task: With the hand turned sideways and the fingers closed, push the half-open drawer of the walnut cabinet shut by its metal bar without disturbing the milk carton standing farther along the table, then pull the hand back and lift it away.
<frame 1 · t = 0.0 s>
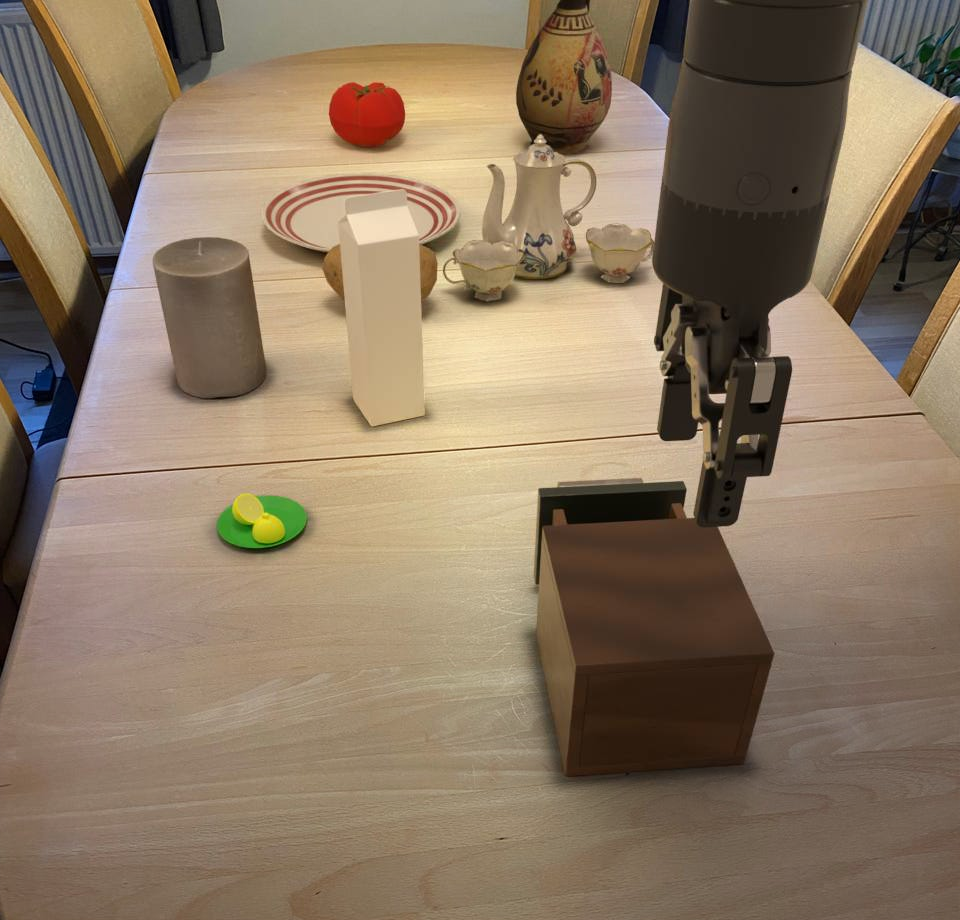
hand: (693, 477, 57), 23 cm above the table, tool pointing down, fingers open, 8 cm apart
potato: (382, 309, 126), on the table
cabinet: (633, 695, 77), on the table
tomato: (371, 143, 173), on the table
drawer: (617, 565, 80), point 5 cm above the table, slide at 5.0 cm
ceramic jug: (563, 146, 172), on the table
chinaware: (542, 276, 133), on the table
pillar candle: (222, 379, 113), on the table
dinner plate: (363, 232, 144), on the table
lemon: (263, 528, 93), on the table
milk: (388, 409, 108), on the table
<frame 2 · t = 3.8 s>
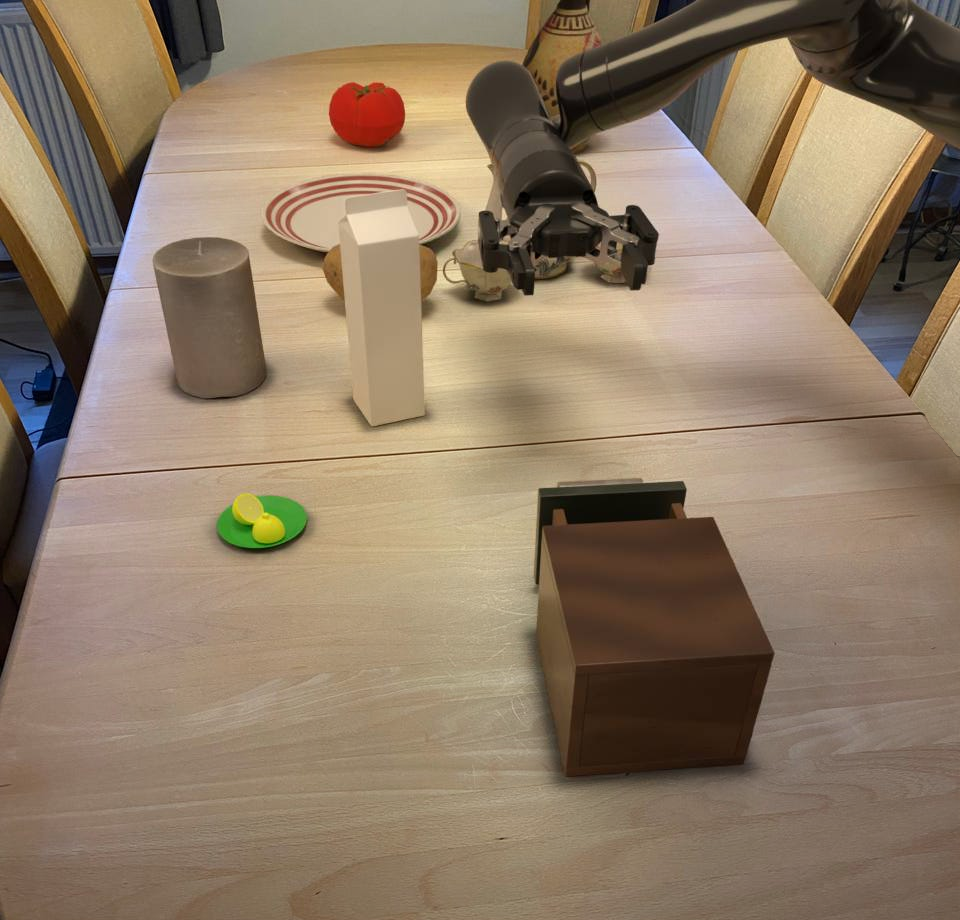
hand: (584, 282, 79), 22 cm above the table, tool horizontal, fingers open, 8 cm apart
nothing on the table moved.
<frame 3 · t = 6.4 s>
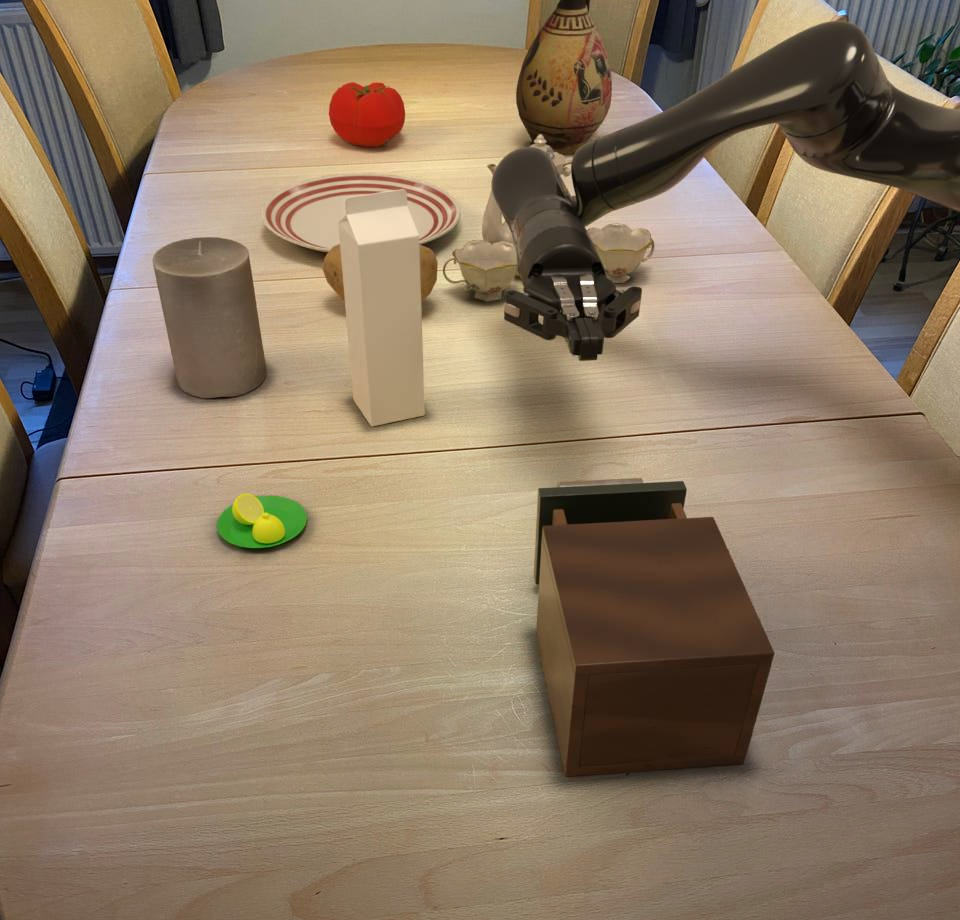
hand: (589, 350, 85), 15 cm above the table, tool horizontal, fingers closed
nothing on the table moved.
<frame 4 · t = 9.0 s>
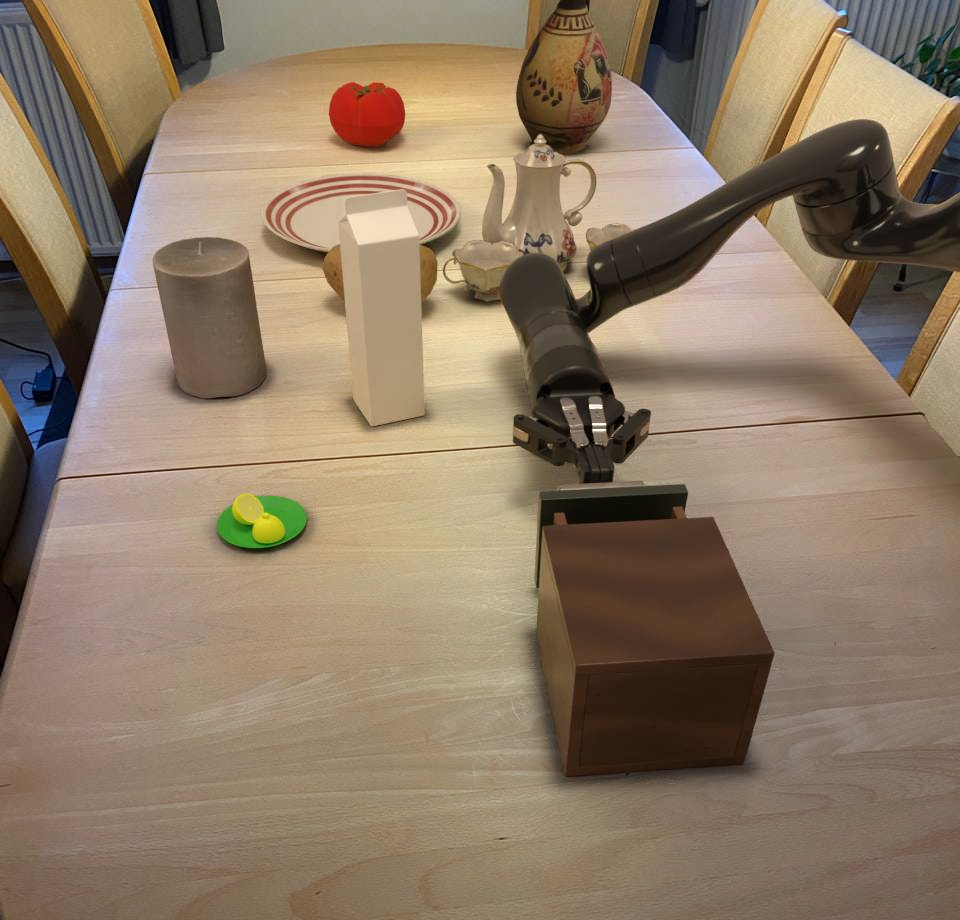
hand: (599, 481, 85), 7 cm above the table, tool horizontal, fingers closed
drawer: (618, 568, 80), point 5 cm above the table, slide at 4.6 cm, touching gripper
everything else where it was.
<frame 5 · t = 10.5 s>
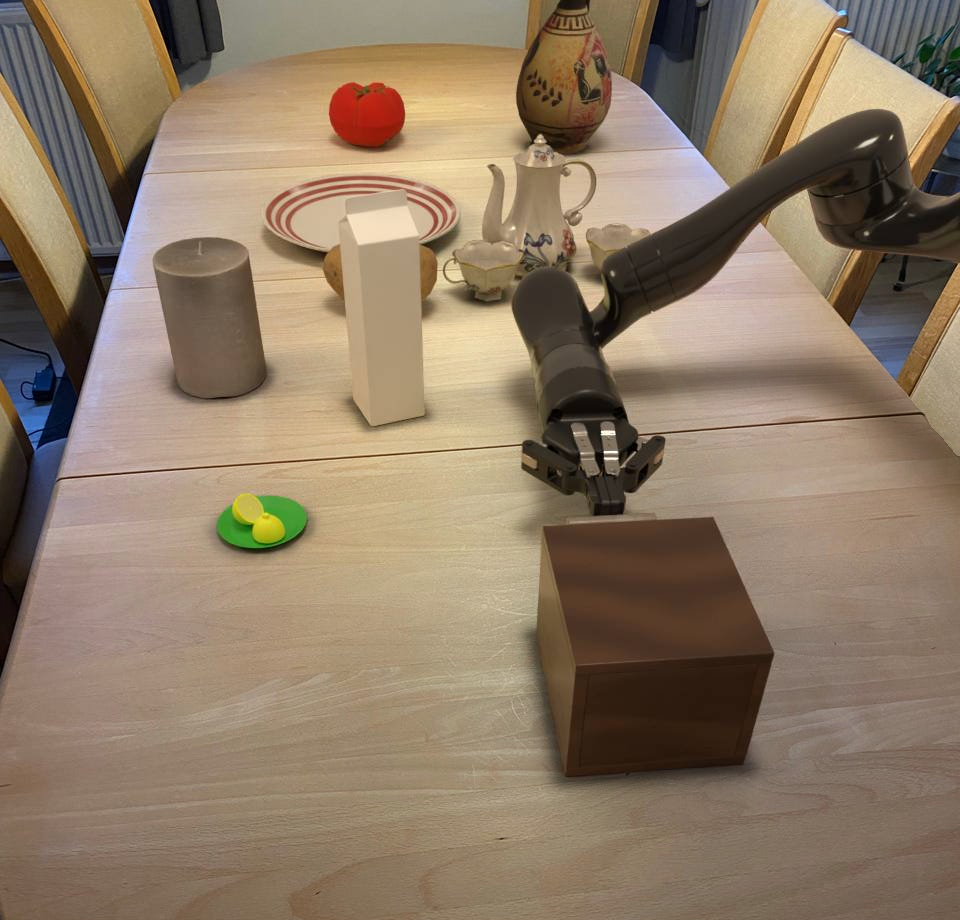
hand: (610, 514, 82), 7 cm above the table, tool horizontal, fingers closed
drawer: (630, 607, 77), point 5 cm above the table, slide at 0.0 cm, touching cabinet, gripper
everything else where it was.
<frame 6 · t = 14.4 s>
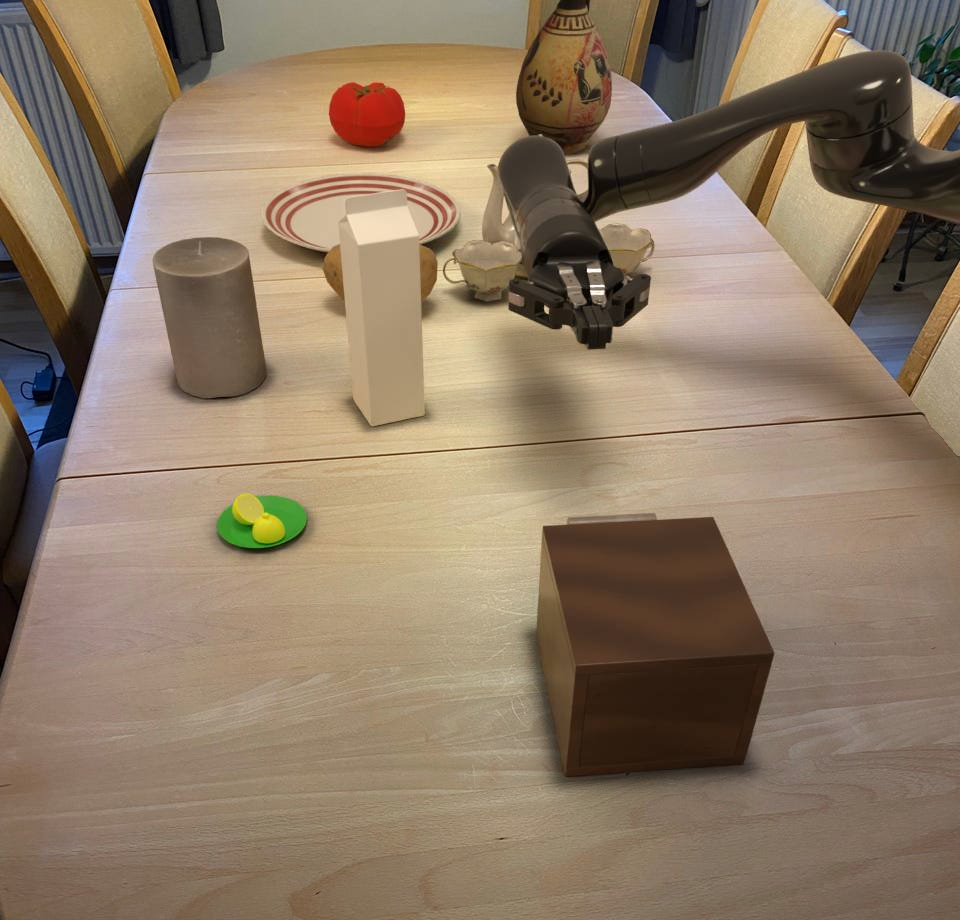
hand: (598, 338, 82), 18 cm above the table, tool horizontal, fingers closed
drawer: (630, 607, 77), point 5 cm above the table, slide at 0.0 cm, touching cabinet
everything else where it was.
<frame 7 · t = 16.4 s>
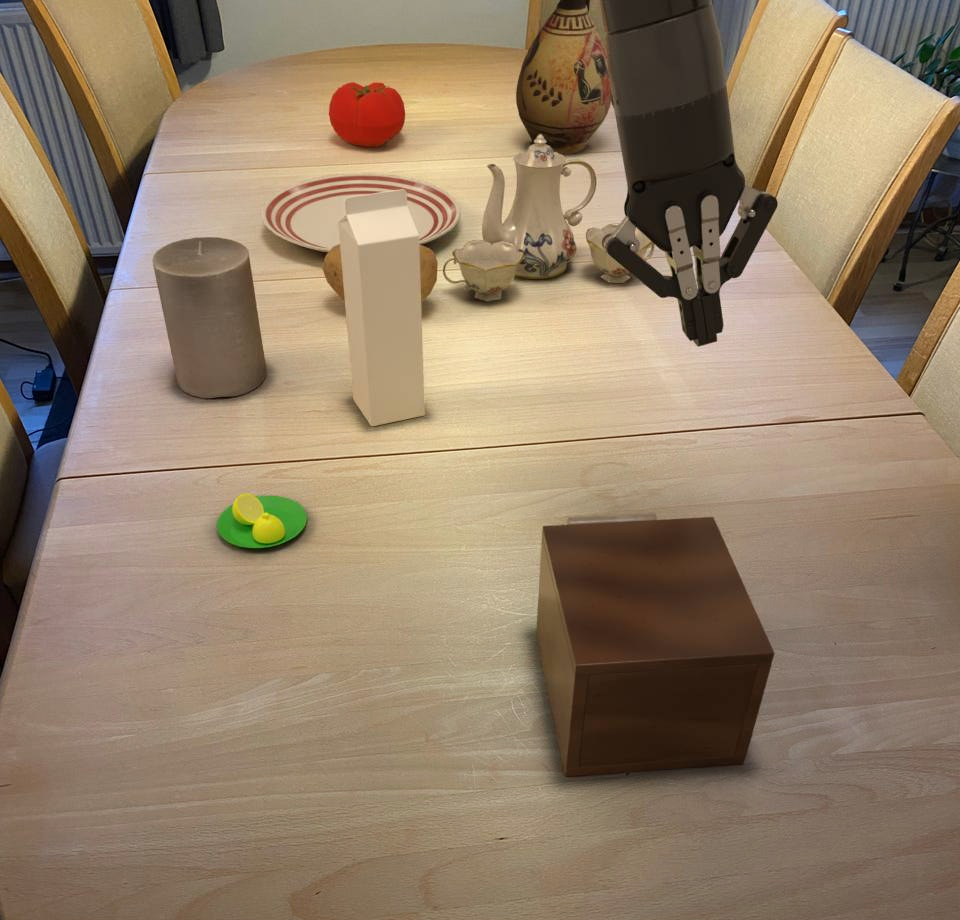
hand: (705, 341, 78), 19 cm above the table, tool tilted 20°, fingers closed
nothing on the table moved.
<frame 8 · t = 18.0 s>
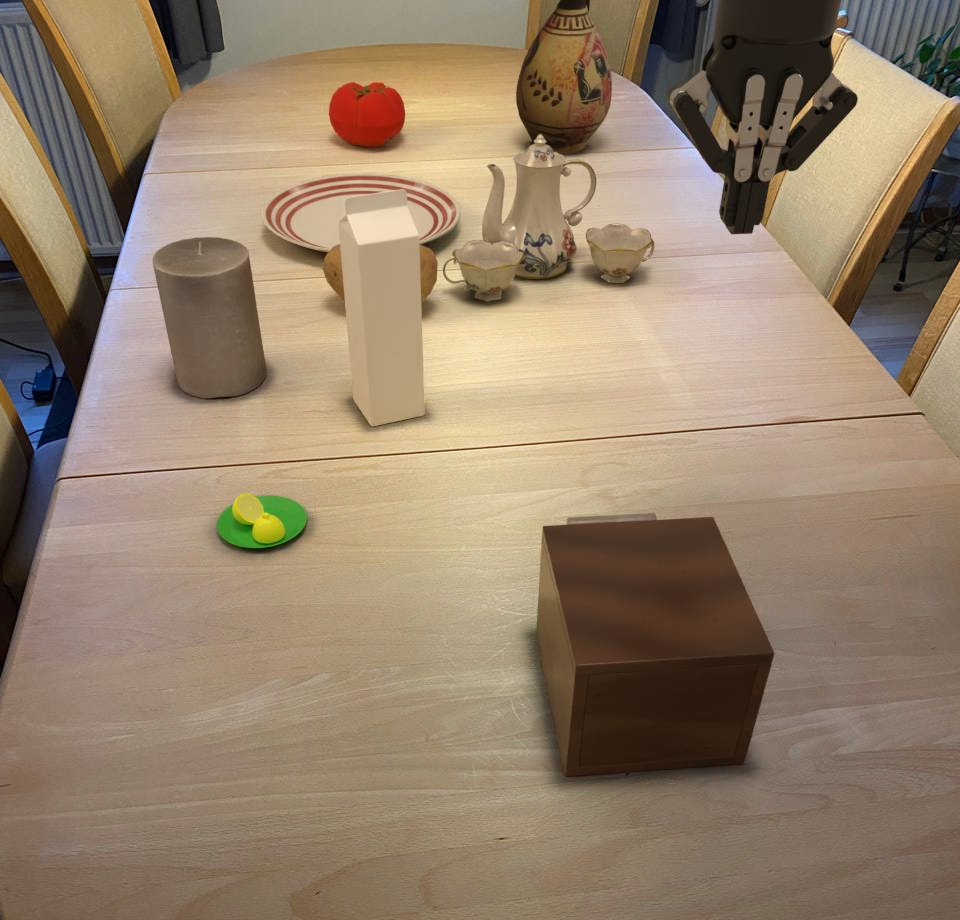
hand: (738, 230, 74), 27 cm above the table, tool pointing down, fingers closed
nothing on the table moved.
at the end: drawer slide at 0.0 cm; milk moved 0.2 cm from its start; milk tilted 0° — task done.
